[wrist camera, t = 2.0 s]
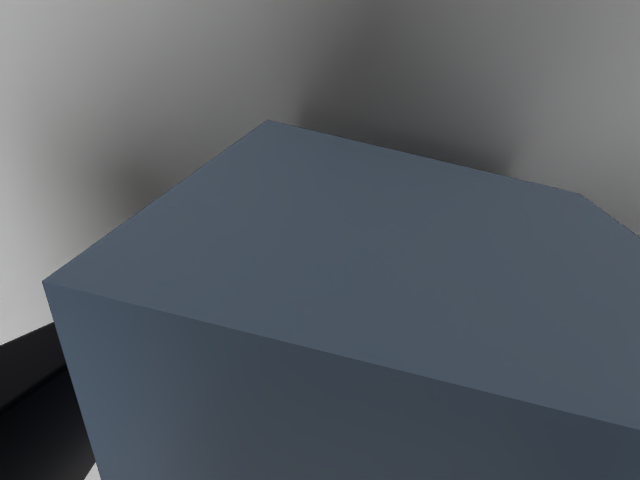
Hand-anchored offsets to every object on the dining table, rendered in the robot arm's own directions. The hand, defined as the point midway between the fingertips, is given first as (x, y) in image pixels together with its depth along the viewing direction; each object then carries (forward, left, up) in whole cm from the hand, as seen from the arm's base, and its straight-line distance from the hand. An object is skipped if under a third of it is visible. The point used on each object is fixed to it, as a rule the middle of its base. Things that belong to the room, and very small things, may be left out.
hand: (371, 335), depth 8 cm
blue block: (0, 0, -4) cm, 4 cm away
